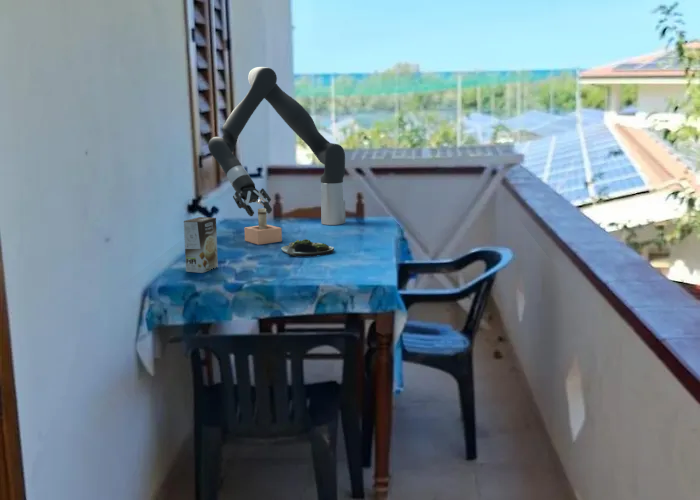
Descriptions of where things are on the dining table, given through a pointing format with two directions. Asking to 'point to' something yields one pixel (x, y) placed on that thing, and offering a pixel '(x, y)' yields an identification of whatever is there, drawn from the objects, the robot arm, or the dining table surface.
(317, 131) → the robot arm
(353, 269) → the dining table surface
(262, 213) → the birch peg
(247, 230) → the orange square ring
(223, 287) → the dining table surface
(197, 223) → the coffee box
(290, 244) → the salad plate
